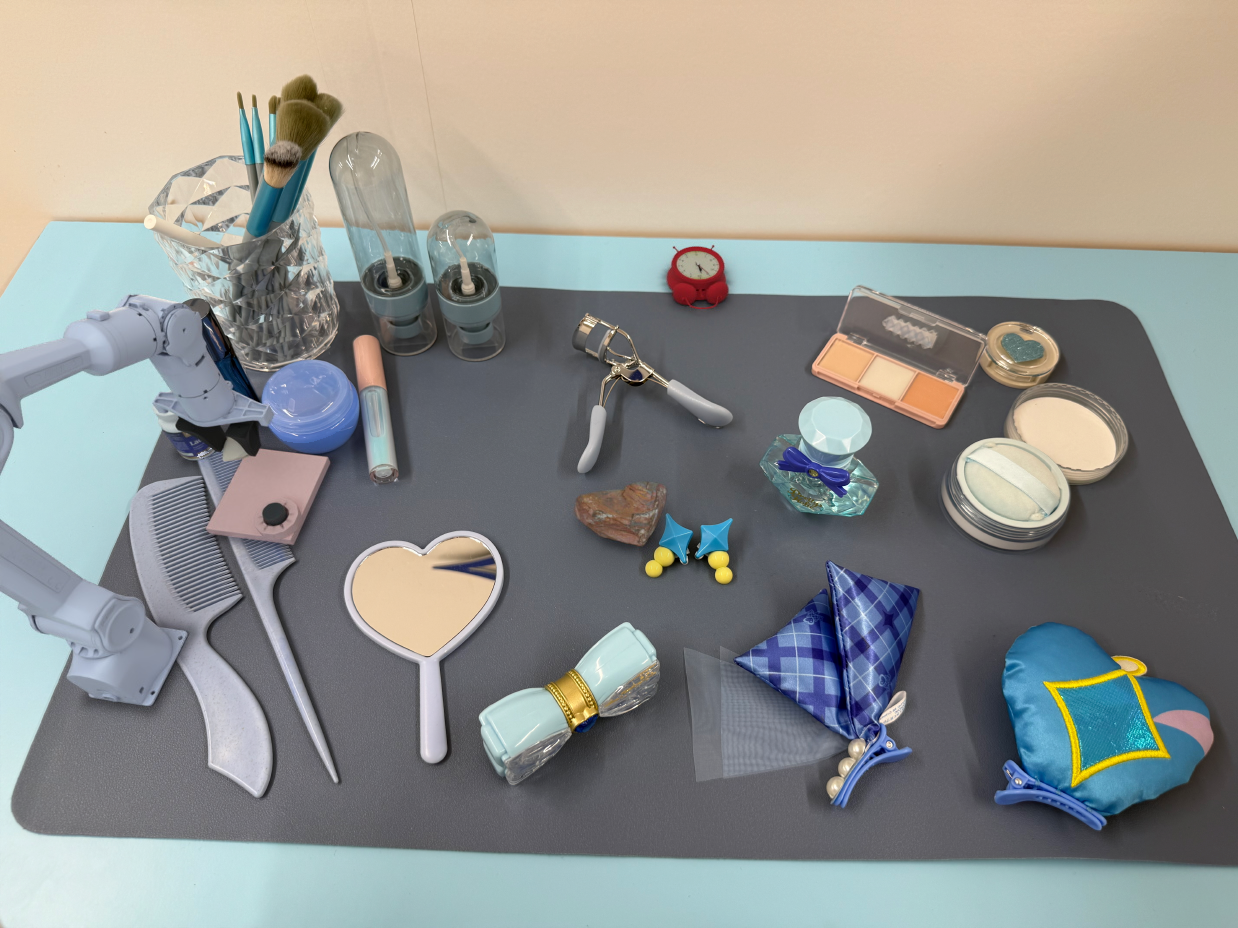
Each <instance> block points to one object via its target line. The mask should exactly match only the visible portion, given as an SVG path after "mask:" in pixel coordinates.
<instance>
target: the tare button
mask: <svg viewBox="0 0 1238 928" xmlns="http://www.w3.org/2000/svg"><path fill="white" fill-rule="evenodd" d="M262 516H263V517H264V519H265V520H266V522H267V523H268V524H269V525H272V526H276V525H280V524H282V523H283V522H284V521H285V520H286V518H287V511H286V510H285V508H284V507H283V505H282V504H280V503H277V502H274V503H270V504H268V505H267V506H266V507H265V508H264V509H263V511H262Z"/></svg>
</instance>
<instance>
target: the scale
mask: <svg viewBox="0 0 1238 928" xmlns="http://www.w3.org/2000/svg"><path fill="white" fill-rule="evenodd" d="M330 465H331V461H330V458H329V457H328V456H323V455H322V456H321V455H314V454H307V453H297V452H291V451H290V452H288V451H282V450H273V449H265V448H260V449H259V451H258V453H257V455H256V456H255V457H253V456H250V457H247V458H244V459H241V462H240V463H239V465H238V467H237V469H236V470H235V473H234V475H233V476H232V479H230V482H229V484H228V486H227V487H226V490H225V491H224V493H223V495H222V497H221V499H220V501H219V503H218V505H217V507H216V508H215V511H214V512H213V514H212V516H211V518H210V519H209V521H208V523H207V526H206V527H205V530H206V531H207V532H208V533H209V534H211V535H215V536H216V535H217V536H225V537H231V538H239V539H240V538H241V539H246V540H247V539H248V540H255V541H261V542H269V543H277V544H284V545H291V546H293V545H295V543H296V541H297V538H298V536H299V534H300V532H301V529H302V527H303V526H304V523H305V521H306V519H307V516H308V514H309V512H310V509H311V507H312V505H313V503H314V501H315V498H316V496H317V494H318V491H319V489H320V487H321V486H322V483H323V480H324V479H325V476H326V474H327V471H328V469H329V467H330ZM274 502H277V503H280V504H282V505H283V507H284V508H285V510H286V511H287V518H286V520H285V521H284V522H283V523H282V524H280V525H276V526H272V525H269V524H268V523H267V522H266V520H265V519H264V517H263V516H262V511H263V509H264V508H265V507H266V506H267V505H268V504H270V503H274Z"/></svg>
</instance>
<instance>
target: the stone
mask: <svg viewBox="0 0 1238 928" xmlns="http://www.w3.org/2000/svg"><path fill="white" fill-rule="evenodd" d="M667 498H668V488H667V486H665V485H664V484H662V483H659V482H655V481H652V482H651V481H646V480H645V481H636V482H635V481H633V482H632V483H630V484H627V485H626V486H624V489H607V490H606V489H605V490H597V491H591V492H586V493H583V494H580V495H578V496H577V497H576V499H575V506H574V507H573V512H574V515H575V517H576V518H577V520H578V521H580V523H582V524H583V525H584V526H586V527H587V528H589V529H590V530H591V531H592V532H593V533H596V535H597V536H599V537H601V538H604V539H609V540H612V541H616V542H621V543H625V544H629V545H633V546H637V547H643V546H645V545H646V543H647V542H648V540H649V538H650V537H651V536H652V534H653V532H654V531H655V530H656V527H657V525H658V523H659V521H660V518H661V517H662V513H663V510H664V509H665V504H666V502H667Z"/></svg>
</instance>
